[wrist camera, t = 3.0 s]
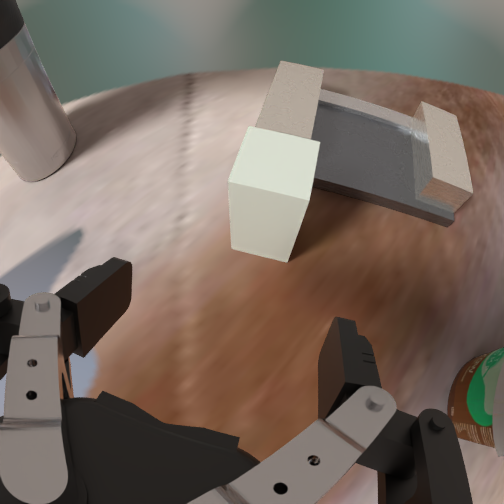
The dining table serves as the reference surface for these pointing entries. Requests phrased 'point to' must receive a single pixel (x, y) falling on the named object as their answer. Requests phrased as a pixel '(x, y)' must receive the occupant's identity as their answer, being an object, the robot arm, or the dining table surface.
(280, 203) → the block
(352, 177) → the rail plate
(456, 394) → the food container
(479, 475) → the dining table surface
